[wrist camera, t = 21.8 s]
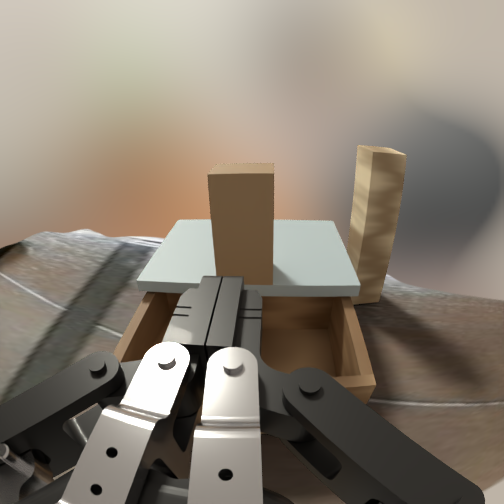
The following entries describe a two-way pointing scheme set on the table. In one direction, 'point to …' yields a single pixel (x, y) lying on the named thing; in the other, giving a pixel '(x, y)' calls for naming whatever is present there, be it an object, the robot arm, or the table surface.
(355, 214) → the wooden block
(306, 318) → the wooden box
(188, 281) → the lid
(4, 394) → the table surface
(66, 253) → the table surface
